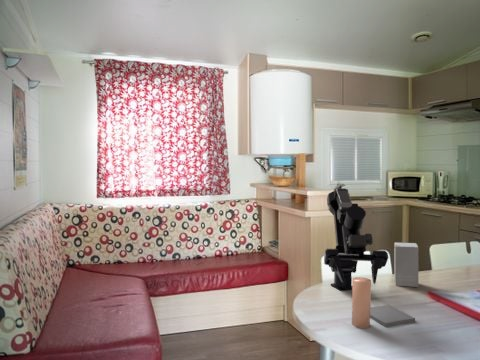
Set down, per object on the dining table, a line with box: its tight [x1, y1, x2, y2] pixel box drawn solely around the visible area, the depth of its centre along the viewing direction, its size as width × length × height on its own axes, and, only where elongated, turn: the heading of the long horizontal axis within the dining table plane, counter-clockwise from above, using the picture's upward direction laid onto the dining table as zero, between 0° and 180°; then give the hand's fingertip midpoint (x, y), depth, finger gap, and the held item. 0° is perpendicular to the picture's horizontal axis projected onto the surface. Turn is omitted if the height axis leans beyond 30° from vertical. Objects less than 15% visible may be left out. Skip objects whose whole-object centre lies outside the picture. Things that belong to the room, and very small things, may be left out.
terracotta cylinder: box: [351, 276, 372, 329], centre depth 106 cm, size 5×5×13 cm
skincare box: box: [393, 242, 420, 288], centre depth 142 cm, size 8×7×16 cm
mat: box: [370, 304, 416, 328], centre depth 112 cm, size 11×11×1 cm
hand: (358, 282), depth 110 cm, fingers open, 9 cm apart
